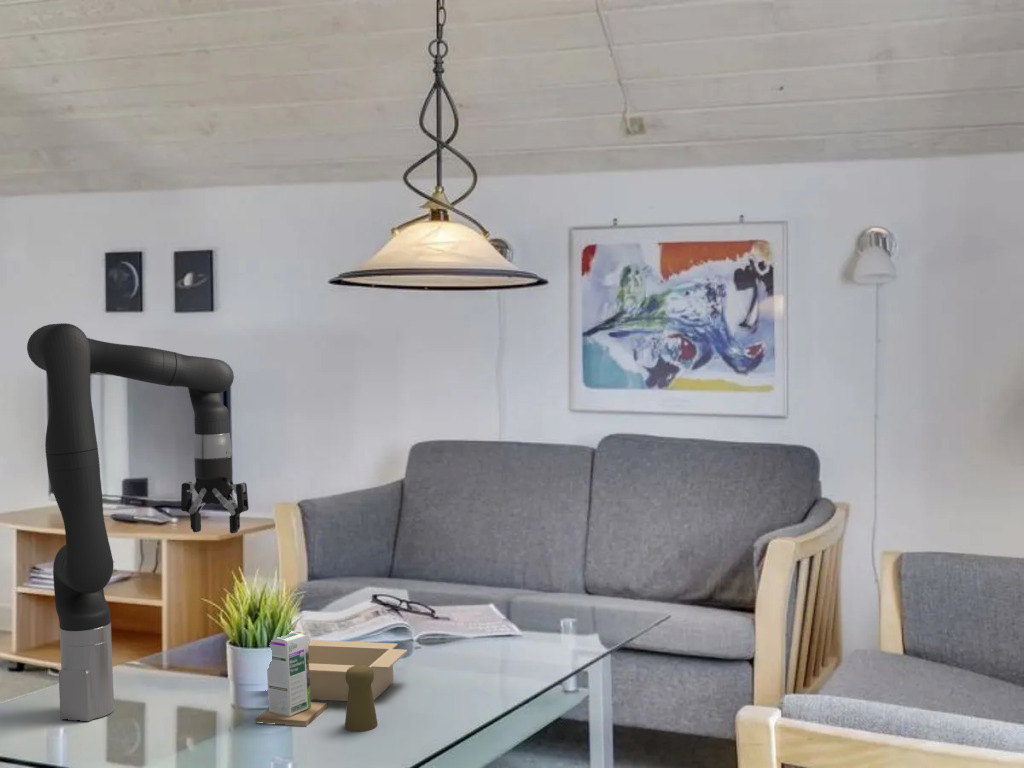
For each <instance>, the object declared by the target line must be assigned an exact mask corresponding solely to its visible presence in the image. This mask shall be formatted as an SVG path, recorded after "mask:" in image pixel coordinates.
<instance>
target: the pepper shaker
mask: <svg viewBox="0 0 1024 768" xmlns="http://www.w3.org/2000/svg"><path fill="white" fill-rule="evenodd" d="M345 677H346V683H347V684H348V685H349V689H348V699H347V701H346V710H345V721H344V729H345V730H347V731H349V732H361V733H362V732H367V731H371V730H374V729H375V728H377V726H378V719H377V714H376V707H375V700H374V699H373V693H372V687H371V683H372V682H373V679H374V672H373V670H372V668H371V667H369V666H366V665H357V666H352V667H350V668H349V669H348V670H347V672H346V676H345Z"/></svg>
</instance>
